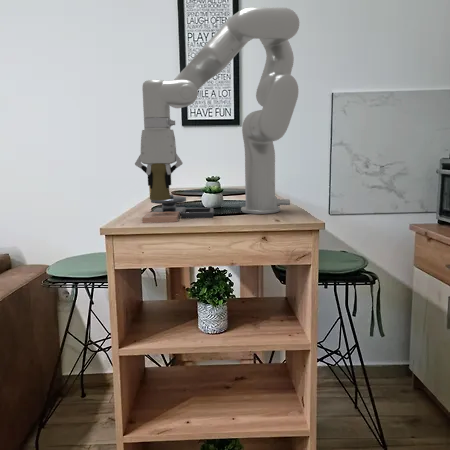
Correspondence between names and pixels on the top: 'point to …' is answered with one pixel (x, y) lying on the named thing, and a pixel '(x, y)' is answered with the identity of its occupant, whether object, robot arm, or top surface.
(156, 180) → the cork
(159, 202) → the handwheel
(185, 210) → the collar
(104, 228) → the top surface
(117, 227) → the top surface
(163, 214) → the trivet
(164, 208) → the hub
